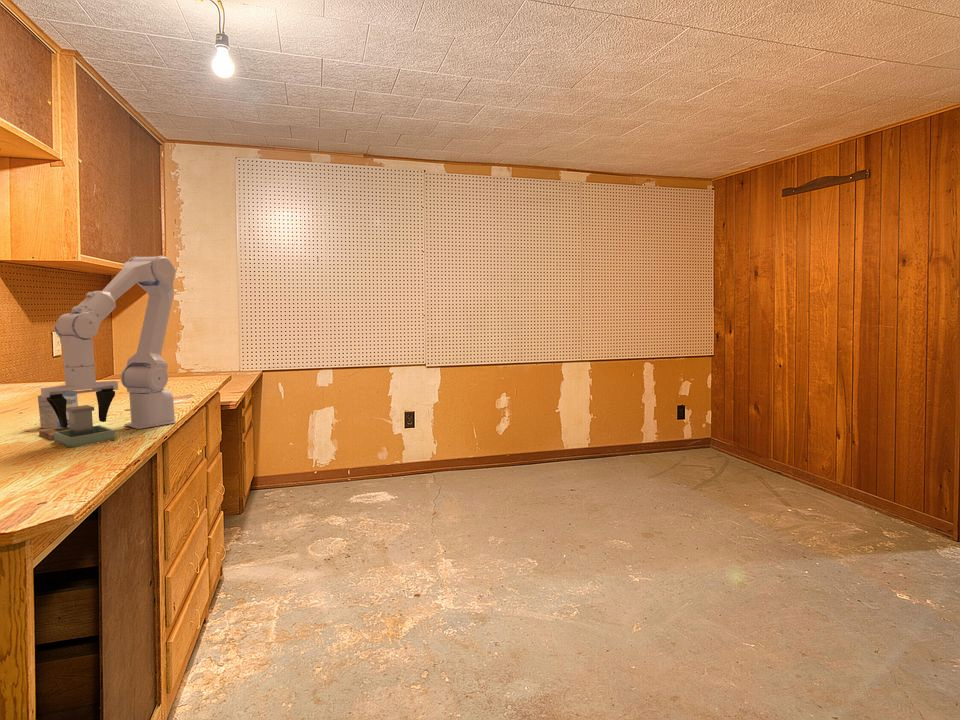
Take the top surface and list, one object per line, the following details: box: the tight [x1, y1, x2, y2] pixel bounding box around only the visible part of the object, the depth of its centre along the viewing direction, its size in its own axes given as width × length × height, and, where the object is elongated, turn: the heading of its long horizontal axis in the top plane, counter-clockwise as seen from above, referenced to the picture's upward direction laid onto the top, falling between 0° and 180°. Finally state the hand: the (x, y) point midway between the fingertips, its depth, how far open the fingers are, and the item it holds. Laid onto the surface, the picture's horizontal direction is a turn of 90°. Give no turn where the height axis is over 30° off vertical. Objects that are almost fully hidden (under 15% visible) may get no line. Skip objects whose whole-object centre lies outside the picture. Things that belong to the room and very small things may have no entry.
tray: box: [53, 424, 116, 448], centre depth 128 cm, size 9×9×2 cm
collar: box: [38, 425, 70, 441], centre depth 135 cm, size 9×9×1 cm
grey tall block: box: [66, 404, 95, 437], centre depth 128 cm, size 4×4×7 cm
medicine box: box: [37, 390, 79, 429], centre depth 144 cm, size 8×4×9 cm, turn 179°
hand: (83, 424), depth 128 cm, fingers open, 7 cm apart
